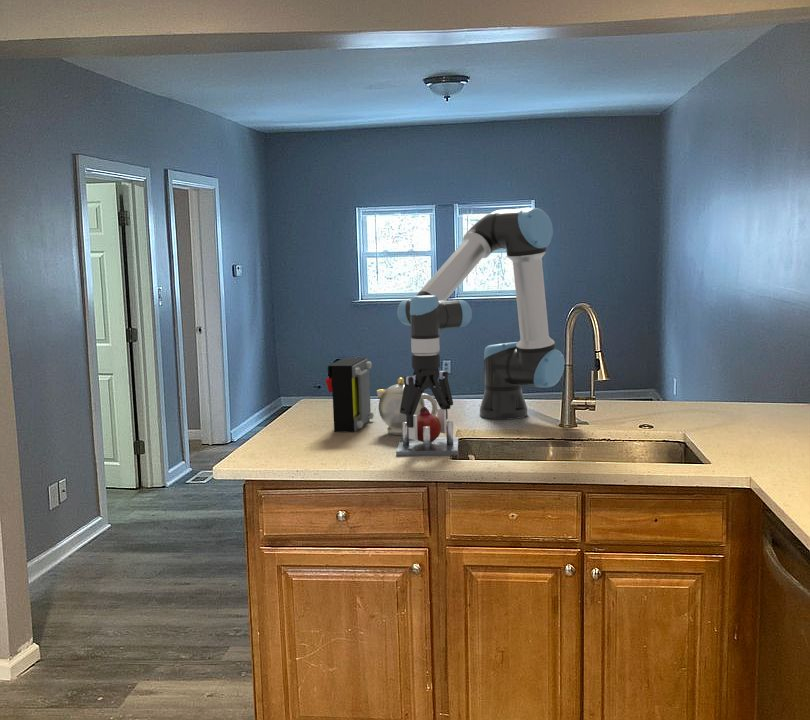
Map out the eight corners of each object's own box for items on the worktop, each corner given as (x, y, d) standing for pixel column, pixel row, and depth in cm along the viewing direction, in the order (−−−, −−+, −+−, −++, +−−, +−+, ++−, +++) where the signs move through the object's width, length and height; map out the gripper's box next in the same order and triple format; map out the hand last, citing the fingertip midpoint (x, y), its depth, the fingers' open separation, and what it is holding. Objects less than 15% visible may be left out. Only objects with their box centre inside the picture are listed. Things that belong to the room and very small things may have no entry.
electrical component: (361, 432, 251) (358, 365, 249) (328, 431, 254) (325, 365, 251) (374, 420, 269) (372, 357, 266) (343, 419, 271) (341, 358, 268)
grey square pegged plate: (458, 441, 236) (457, 415, 235) (457, 455, 220) (456, 428, 219) (401, 442, 237) (400, 416, 236) (396, 455, 221) (395, 428, 220)
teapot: (372, 437, 244) (370, 381, 242) (382, 427, 257) (380, 374, 255) (434, 438, 240) (432, 381, 238) (441, 428, 254) (439, 374, 252)
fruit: (445, 438, 231) (441, 402, 230) (439, 445, 223) (435, 408, 222) (416, 440, 233) (412, 405, 232) (410, 447, 225) (405, 411, 224)
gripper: (446, 348, 235) (448, 427, 238) (384, 357, 221) (386, 440, 224) (465, 350, 229) (467, 430, 232) (402, 359, 215) (405, 445, 218)
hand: (427, 435), depth 228 cm, fingers open, 10 cm apart
